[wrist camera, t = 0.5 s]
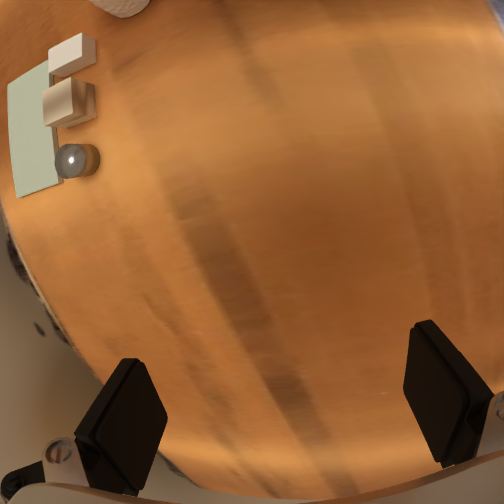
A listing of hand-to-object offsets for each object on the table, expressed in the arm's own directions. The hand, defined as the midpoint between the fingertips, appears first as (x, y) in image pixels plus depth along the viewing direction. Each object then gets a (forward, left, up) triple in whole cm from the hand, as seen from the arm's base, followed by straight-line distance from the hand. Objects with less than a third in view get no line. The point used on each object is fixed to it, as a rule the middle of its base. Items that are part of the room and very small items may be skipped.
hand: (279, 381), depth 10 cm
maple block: (-20, -24, -29) cm, 43 cm away
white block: (-28, -24, -29) cm, 47 cm away
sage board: (-20, -34, -29) cm, 49 cm away
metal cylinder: (-12, -24, -29) cm, 39 cm away
